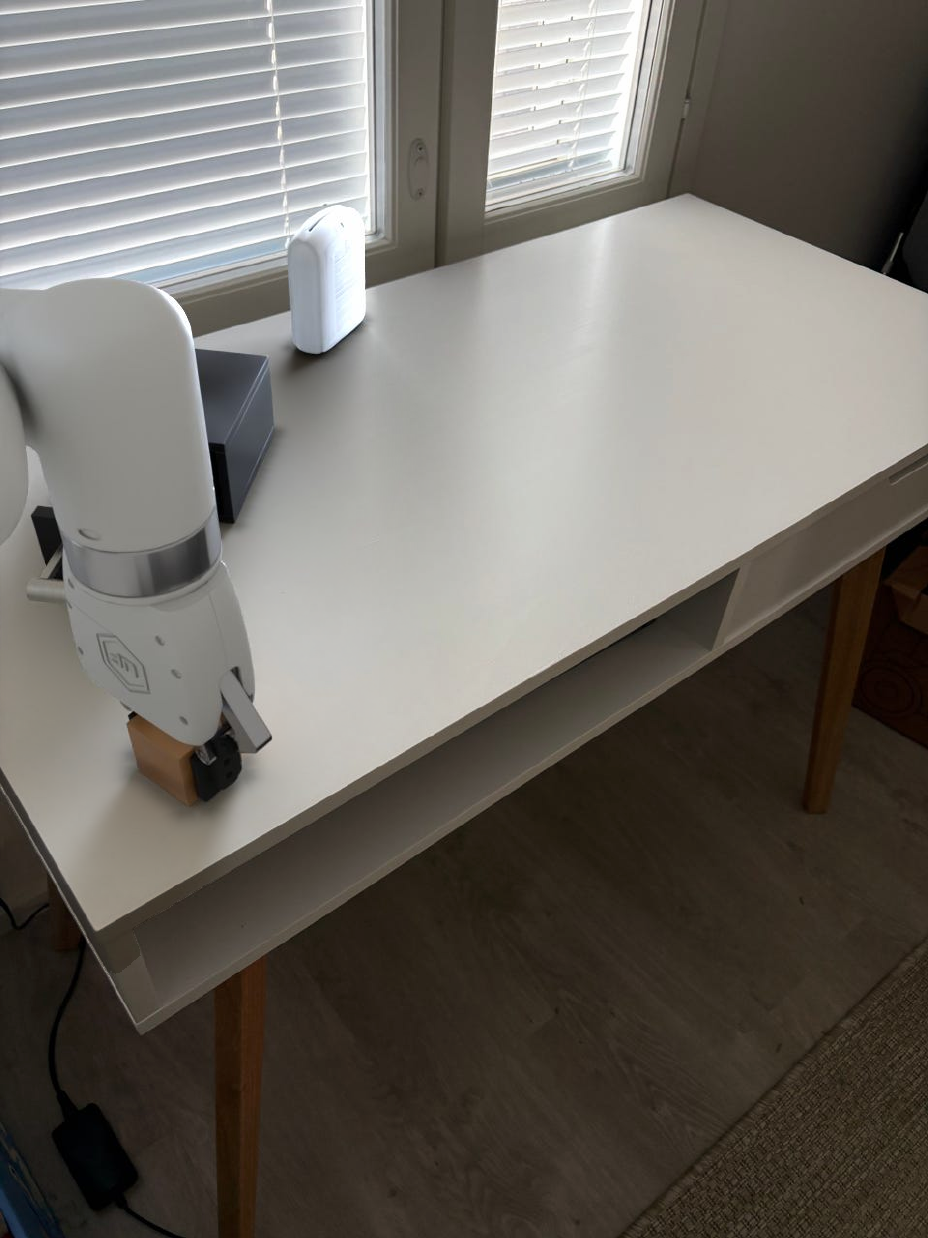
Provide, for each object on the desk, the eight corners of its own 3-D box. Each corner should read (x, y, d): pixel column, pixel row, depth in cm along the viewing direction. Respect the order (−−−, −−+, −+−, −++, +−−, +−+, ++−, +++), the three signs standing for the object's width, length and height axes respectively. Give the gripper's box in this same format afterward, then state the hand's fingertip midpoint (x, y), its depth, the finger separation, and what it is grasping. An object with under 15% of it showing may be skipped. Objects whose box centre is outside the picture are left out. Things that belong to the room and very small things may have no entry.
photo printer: (335, 308, 109) (331, 191, 100) (370, 317, 108) (369, 199, 99) (286, 349, 102) (277, 227, 93) (324, 359, 101) (319, 237, 92)
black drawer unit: (234, 524, 81) (224, 443, 76) (92, 508, 81) (72, 427, 76) (275, 432, 91) (268, 355, 86) (148, 418, 91) (134, 341, 86)
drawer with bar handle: (163, 650, 69) (150, 586, 65) (15, 633, 69) (-7, 569, 65) (235, 493, 82) (228, 432, 78) (110, 479, 83) (96, 418, 79)
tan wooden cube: (188, 807, 61) (178, 760, 58) (138, 770, 63) (125, 722, 60) (242, 761, 64) (235, 714, 60) (192, 727, 65) (183, 679, 62)
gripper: (-28, 503, 52) (52, 735, 64) (207, 651, 45) (245, 878, 57) (92, 441, 56) (144, 669, 69) (320, 567, 49) (333, 794, 62)
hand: (190, 762), depth 63 cm, fingers closed on tan wooden cube, 4 cm apart
